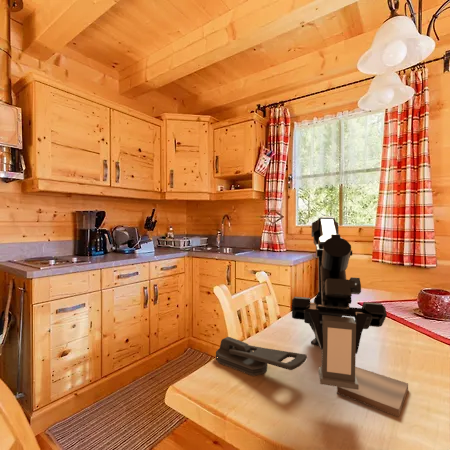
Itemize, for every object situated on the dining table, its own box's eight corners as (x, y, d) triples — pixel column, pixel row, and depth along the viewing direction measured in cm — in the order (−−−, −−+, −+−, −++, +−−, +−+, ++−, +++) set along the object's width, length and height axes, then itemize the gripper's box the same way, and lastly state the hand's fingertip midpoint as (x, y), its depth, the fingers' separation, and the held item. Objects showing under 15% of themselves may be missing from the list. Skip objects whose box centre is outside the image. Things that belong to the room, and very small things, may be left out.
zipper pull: (292, 368, 62) (211, 336, 79) (291, 398, 62) (210, 359, 79) (310, 354, 69) (232, 327, 86) (310, 381, 69) (231, 349, 86)
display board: (353, 371, 73) (353, 365, 73) (408, 389, 66) (408, 383, 66) (337, 393, 64) (337, 386, 64) (398, 417, 56) (398, 409, 56)
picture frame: (318, 371, 62) (319, 313, 61) (353, 376, 60) (354, 316, 59) (320, 383, 57) (321, 321, 56) (358, 389, 55) (359, 325, 55)
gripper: (292, 260, 64) (289, 327, 54) (385, 265, 59) (402, 339, 49) (293, 287, 72) (290, 350, 61) (375, 293, 67) (387, 362, 56)
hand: (338, 350), depth 57 cm, fingers closed on picture frame, 6 cm apart
